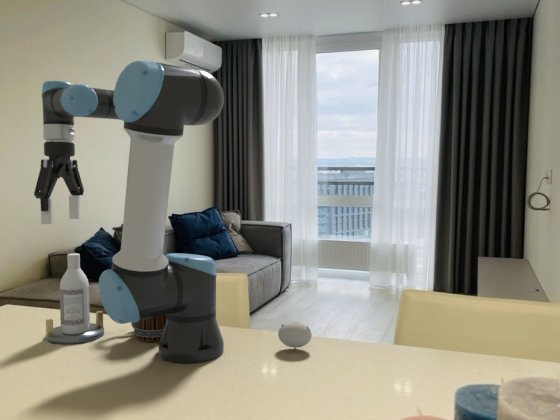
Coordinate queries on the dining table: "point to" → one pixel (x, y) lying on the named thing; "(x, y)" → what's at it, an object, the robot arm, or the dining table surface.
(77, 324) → the bath foam
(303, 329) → the figurine
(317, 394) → the dining table surface
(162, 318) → the mug
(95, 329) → the disc
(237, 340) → the dining table surface
